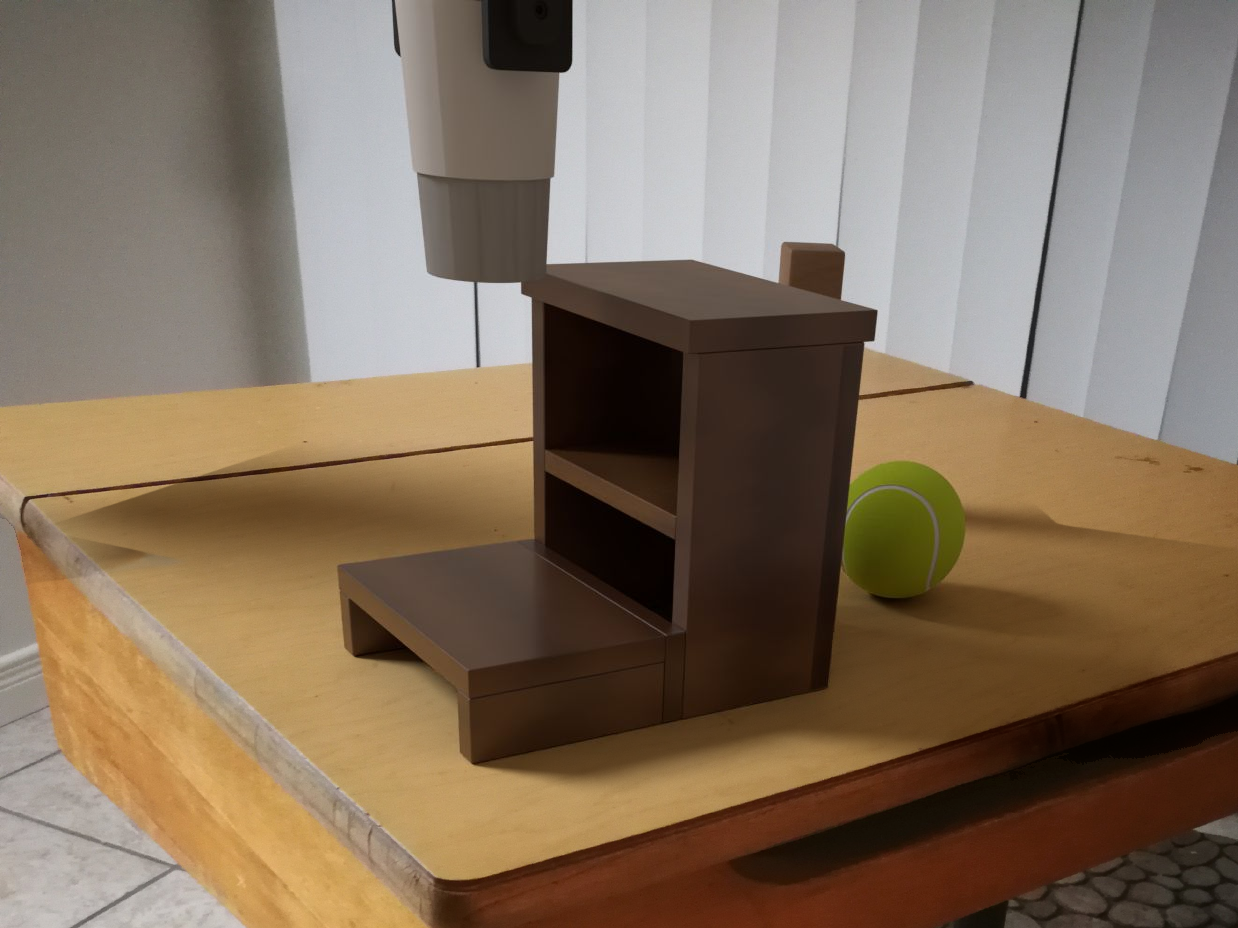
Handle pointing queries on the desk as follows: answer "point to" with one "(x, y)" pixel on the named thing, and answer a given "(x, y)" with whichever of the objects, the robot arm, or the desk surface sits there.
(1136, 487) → the desk surface
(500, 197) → the cup
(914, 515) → the tennis ball
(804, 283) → the wooden block
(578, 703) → the shelf
